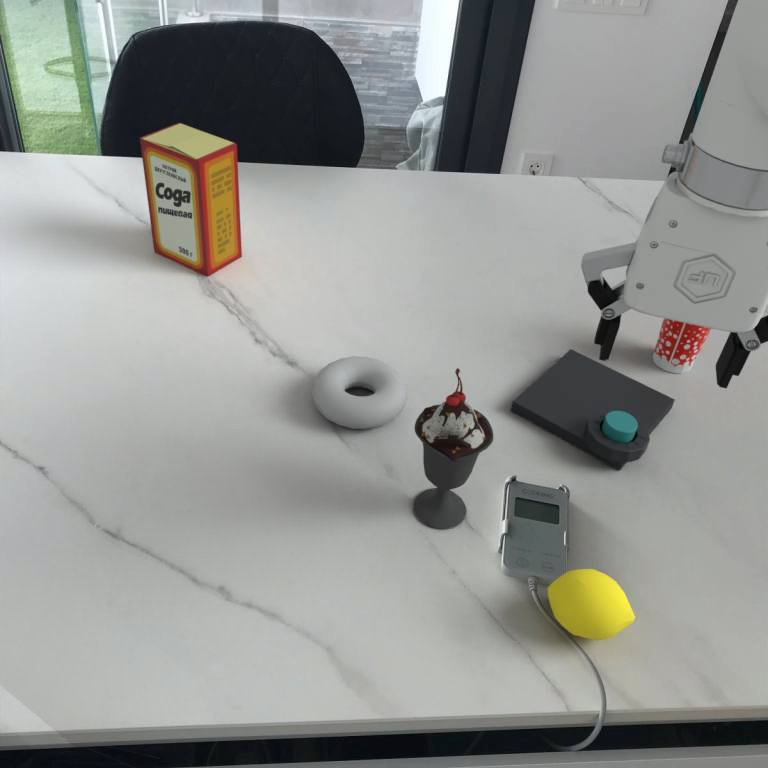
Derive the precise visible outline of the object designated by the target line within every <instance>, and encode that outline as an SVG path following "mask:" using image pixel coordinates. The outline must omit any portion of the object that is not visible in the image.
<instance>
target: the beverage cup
mask: <svg viewBox="0 0 768 768" xmlns="http://www.w3.org/2000/svg"><path fill="white" fill-rule="evenodd" d="M662 319H663V320H662V323H661V327H660V330H659V333H658V337H657V341H656V343H655V347H654V351H653V354H652V361H653V363H654V364H655V365H656V366H657V367H658V368H659V369H661V370H663V371H665V372H668V373H672V374H685V373H688V372H690V370H691V369H692V367H693V366H694V363H695V362H696V360H697V358H698V356H699V354H700V352H701V350H702V348H703V346H704V344H705V342H706V340H707V338H708V336H709V334H710V332H711V330H712V329H711V328H707V327H702V326H697V325H692V324H688V323H683V322H679V321H674V320H669V319H665V318H662Z"/></svg>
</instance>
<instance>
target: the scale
mask: <svg viewBox="0 0 768 768" xmlns="http://www.w3.org/2000/svg"><path fill="white" fill-rule="evenodd" d="M675 401H676V399H674V398H673V397H670V396H669V395H667V394H664V393H662V392H661V391H658V390H656V389H654V388H652V387H650V386H648V385H646V384H645V383H642V382H640V381H638V380H636V379H633V378H632V377H629V376H628V375H625V374H623V373H621V372H619V371H617V370H615V369H613V368H611V367H609V366H607V365H605V364H603V363H600V362H598V361H596V360H594V359H592V358H590V357H588V356H586V355H585V354H582V353H580V352H578V351H576V350H574V349H572V348H570V349H569V350H568V351H566V352H565V353H564V354H563V355H561V357H560V358H559V359H558V360H557V361H556V362H555V363H553V364H552V365H551V366H550V367H549V368H548V369H547V370H546V371H545V372H543V373H542V374H541V375H540V376H539V377H538V378H537V379H536V380H534V381H533V382H532V383H531V384H530V385H529V386H528V387H527V388H525V389H524V390H523V391H522V392H521V393H520V394H519V395H518V396H517V397H516V398H514V399H513V400H512V402H511V406H510V412H511V413H514V414H516V415H517V416H519V417H521V418H523V419H524V420H527V422H529V423H532V424H533V425H536V426H537V427H539V428H541V429H543V430H544V431H547V432H548V433H550V434H552V435H554V436H555V437H557V438H559V439H561V440H563V441H565V442H567V443H569V444H570V445H572V446H574V447H576V448H577V449H579V450H581V451H583V452H585V453H586V454H588V455H590V456H592V457H594V458H595V459H597V460H600V461H601V462H603V463H605V464H607V465H608V466H611V467H612V468H614V469H615V470H618V471H621V470H622V469H623V468H624V467H625V465H626V464H627V463H631V462H636V461H639V460H640V459H641V458H642V456H643V455H644V454H645V453H646V451H647V448H648V446H649V443H650V441H651V440H650V439H651V438H650V435H651V434H652V433H653V432H654V431H655V430H656V428H657V427H658V425H660V423H661V422H662V421H663V419H664V418H665V417H667V415H668V414H669V413H670V411H671V410H672V408H673V405H674V403H675ZM611 411H623V412H626V413H628V414H630V415H632V416H633V417H634V418H635V419H636V421H637V423H638V427H637V430H636V432H635V435H634V437H633V439H632V440H631V441H630V442H627V443H620V442H614V441H612V440H610V439H609V438H607V437H606V436H605V435H604V434H603V432H602V426H603V423H604V420H605V417H606V415H607V414H608V413H609V412H611Z"/></svg>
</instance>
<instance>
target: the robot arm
mask: <svg viewBox="0 0 768 768" xmlns="http://www.w3.org/2000/svg"><path fill="white" fill-rule="evenodd" d="M661 163H663V164H666V165H667V164H668V165H670V166H671V167H672V168H675V171H673V172H671V173H670V174H668V176H667V177H666V180H665V181H664V182H663V183H662V186H661V187H660V189H659V191H658V192H657V195H656V197H655V198H654V200H653V203H652V205H651V207H650V208H649V211H648V213H647V215H646V217H645V220H644V221H643V224H642V227H641V229H640V232H639V234H638V236H637V238H636V241H635V242H630V243H626V244H621V245H616V246H612V247H607V248H603V249H599V250H593V251H589V252H586V253H584V254H582V257H581V263H580V267H581V271H582V275H583V279H584V282H585V284H586V287H587V293H588V295H589V296H590V298H591V299H592V300H593V302H594V304H595V306H596V307H598V309H599V311H601V312H600V319H599V321H598V325H597V328H596V331H595V335H594V339H593V340H594V341H593V344H594V345H598V346H600V348H599V357H598V360H600V361H603V362H606V361H608V360H609V359H610V356H611V353H612V350H613V348H614V344H615V341H616V340H617V339H616V338H617V335H618V334H619V333H618V332H619V330H620V326H621V319H622V315H623V314H625V313H626V312H628V311H630V310H634V311H635V312H638V313H641V314H644V315H649V316H653V317H657V318H660V319H664V318H665V319H669V320H674V321H679V322H683V323H688V324H692V325H697V326H702V327H707V328H711V330H717V331H721V332H726V333H727V332H728V333H729V334H728V337H727V339H726V341H725V343H724V346H723V348H722V350H721V352H720V354H719V357H718V358H717V361H716V364H715V374H716V375H715V376H716V385H717V386H718V387H719V388H722V389H727V388H728V387H729V384H730V382H731V380H732V378H733V376H736V377H739V376H740V375H741V373H742V371H743V368H744V367H745V364H746V363H747V361H748V358H749V356H750V354H751V352H755V351H757V350H759V349H760V347H761V345H762V344H764V343H767V342H768V314H767V315H765V316H763V314H764V313H765V310H766V308H767V306H768V0H738V1H737V2H736V6H735V8H734V11H733V13H732V17H731V20H730V23H729V25H728V28H727V31H726V34H725V38H724V40H723V43H722V47H721V49H720V52H719V55H718V58H717V60H716V63H715V66H714V69H713V72H712V75H711V79H710V81H709V83H708V86H707V89H706V91H705V95H704V98H703V101H702V104H701V106H700V110H699V113H698V116H697V119H696V122H695V124H694V127H693V130H692V132H690V133H689V136H688V139H687V140H686V139H685V140H684V141H683V143H677V144H671V143H665V147H664V150H663V153H662V155H661ZM622 267H626V271H625V279H624V280H622V281H620V282H619V283H617V284H616V285H614V286H612V287H611V286H610V285H609V283H608V281H607V280H606V279H605V277H604V276H603V271H608V270H612V269H616V268H617V269H618V268H622Z"/></svg>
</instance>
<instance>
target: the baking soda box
mask: <svg viewBox="0 0 768 768" xmlns="http://www.w3.org/2000/svg"><path fill="white" fill-rule="evenodd" d="M139 143H140V152H141V158H142V166H143V173H144V182H145V190H146V198H147V204H148V213H149V221H150V229H151V237H152V245H153V252H154V253H155V254H158V255H159V256H161V257H164V258H166V259H168V260H171V261H173V262H174V263H177V264H179V265H182V266H184V267H185V268H188V269H190V270H192V271H195V272H196V273H199V274H201V275H202V276H203V275H204V276H205V277H210V276H212V275H213V274H215V273H217V272H218V271H221V270H222V269H224V268H225V267H227V266H228V265H230V264H233V263H234V262H235V261H237V260H239V259H241V258H242V257H243V251H242V248H243V247H242V229H241V207H240V182H239V163H238V162H239V161H238V160H239V159H238V144H237V143H236V142H234V141H230V140H228V139H225V138H222V137H219V136H216V135H214V134H211V133H208V132H205V131H203V130H200V129H197V128H195V127H192V126H189V125H187V124H184V123H181V122H178V123H175V124H172V125H169V126H167V127H164V128H162V129H159V130H157V131H153V132H151V133H148V134H146V135H144V136H143V135H142V136H141V137H139Z"/></svg>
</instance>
